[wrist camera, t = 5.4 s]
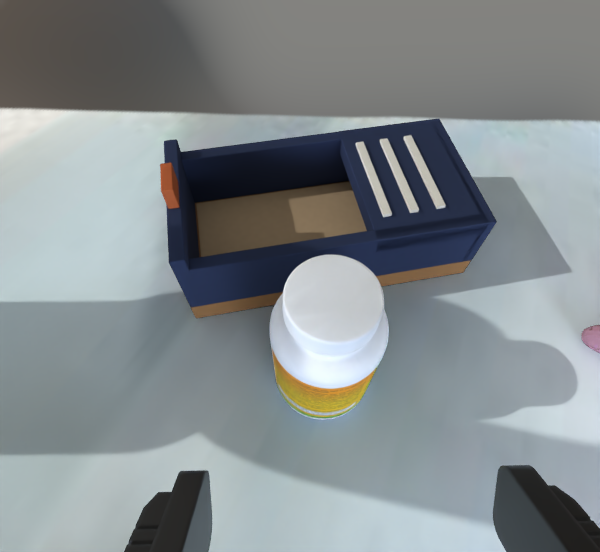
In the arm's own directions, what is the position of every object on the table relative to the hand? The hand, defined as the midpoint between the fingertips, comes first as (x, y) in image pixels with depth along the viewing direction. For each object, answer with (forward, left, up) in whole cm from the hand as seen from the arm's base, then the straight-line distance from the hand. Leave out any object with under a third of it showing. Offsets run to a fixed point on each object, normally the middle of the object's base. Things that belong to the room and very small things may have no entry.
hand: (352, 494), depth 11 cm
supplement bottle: (+1, +7, -11) cm, 13 cm away
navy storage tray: (+3, +16, -11) cm, 20 cm away
